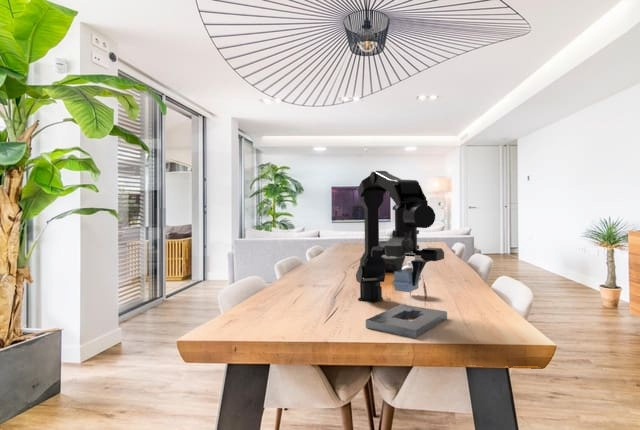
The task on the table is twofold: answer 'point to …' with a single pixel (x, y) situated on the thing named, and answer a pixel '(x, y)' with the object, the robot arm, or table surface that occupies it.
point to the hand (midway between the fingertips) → (406, 284)
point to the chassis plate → (396, 325)
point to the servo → (404, 280)
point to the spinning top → (409, 266)
